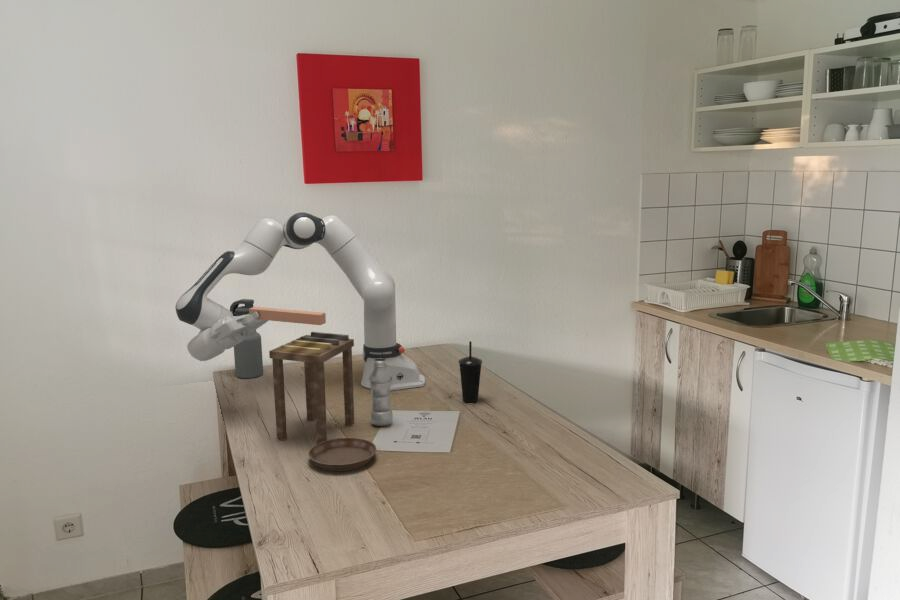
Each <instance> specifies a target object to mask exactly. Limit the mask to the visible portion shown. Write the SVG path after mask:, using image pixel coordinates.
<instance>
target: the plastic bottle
mask: <svg viewBox="0 0 900 600" xmlns="http://www.w3.org/2000/svg"><path fill="white" fill-rule="evenodd" d="M373 366H374V369H373V370H372V371H371V373H370V375H369V381H370V387H371V388H370V393H371V410H370V422H371V423H372V425H374V426H377V427H378V426H379V427H385V426H388V425H391V423H392V422H393V419H394V418H393V417H394V413H393V410H392V405H391V403H392V402H391V391H390V386H391V374H390V372H389V371H388V370H387V368H386V366H387V364H386V359H384V358H377V359H374V364H373Z"/></svg>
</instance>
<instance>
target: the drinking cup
mask: <svg viewBox="0 0 900 600" xmlns="http://www.w3.org/2000/svg"><path fill="white" fill-rule="evenodd" d="M468 346H469V349H468V351H469V356H465V357H462V358H459V359H458V364H459V372H460V373H459V375H460V383H461V394H462V402H463V403H464V402H465V404H468V403H473V404H477V403H478V402H477V401H479V392H480V391H479V390H480V383H481V382H480V380H481V370H482V363H483V360H482V359H481V358H478V357H475V356H472V341H469V345H468ZM476 402H477V403H476Z"/></svg>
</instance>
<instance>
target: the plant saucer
mask: <svg viewBox="0 0 900 600" xmlns="http://www.w3.org/2000/svg"><path fill="white" fill-rule="evenodd" d="M376 452H377V446H376V445H375V443H373V442H371V441H370V440H367V439H364V438H357V437H340V438H332V439H329V440H328V439H327V441H324V442H321V443H319V444H317V443H316V444H315V445H314V446H312V447H311V448H310V449H309V450H308V453H307V454H308V457H309V459H310V460H311V462H312V463H313V464H314V465H316V466H317V467H318V468H320V469H323V470H326V471H330V472H347V471H352V470H356V469H359V468H362V467H364V466H366V465H367V464H368V463H369V462H370V461H371V460H372V458H374V456H375V454H376Z"/></svg>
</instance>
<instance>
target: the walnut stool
mask: <svg viewBox="0 0 900 600" xmlns="http://www.w3.org/2000/svg"><path fill="white" fill-rule="evenodd" d="M349 337H350V336H349V334H343V333H331V332H321V331H320V332H319V331H311V332H310V334H305V335H302V336H300V337H297V338H296V339H294V340H291V341H289V342H287V343H284V344H282V345H279V346H277V347H276V348H273V349H271V350H269V351H268V352H269V359H271V360H272V361H271V362H272V378H273V379H272V380H273V393H274V395H273V396H274V409H275V426H276V427H275V428H276V440H277V439H278V440H277V441H282V440H283V441H285V440H286V439H288V432H287V431H288V430H287V429H288V427H287V416H286V415H287V412H286V396H285V379H284V378H285V377H284V361H293V362H302V363H303V364H304V382H305V383H304V385H305V386H304V388H305V402H306V403H305V406H306V409H305V410H306V421H311V422H313V421H315V423H316V425H315V426H316V445H317V444H319V443H321V442H324V441H328V430H327V429H328V428H327V427H328V426H327V424H328V423H327V404H326V384H325V383H326V379H325V362H326V361H328V360H331V359H332V358H334V357H336V356H338V355H340V354H341V353H342V354H341V355H342V369H343V370H342V376H343V380H342V381H343V402H344V405H343V406H344V426H348V427H353V424H354V425H355V406H354V403H355V402H354V401H355V400H354V377H353V376H354V374H353V351H352V349H353V347H354V346H355V341H354V338H349ZM284 439H285V440H284Z"/></svg>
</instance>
